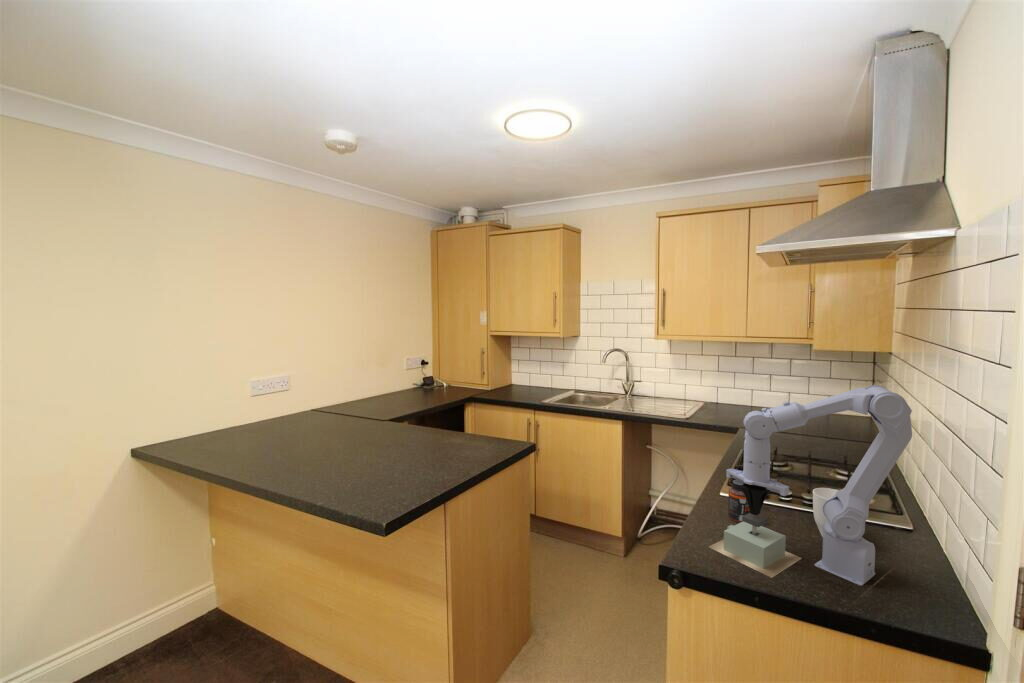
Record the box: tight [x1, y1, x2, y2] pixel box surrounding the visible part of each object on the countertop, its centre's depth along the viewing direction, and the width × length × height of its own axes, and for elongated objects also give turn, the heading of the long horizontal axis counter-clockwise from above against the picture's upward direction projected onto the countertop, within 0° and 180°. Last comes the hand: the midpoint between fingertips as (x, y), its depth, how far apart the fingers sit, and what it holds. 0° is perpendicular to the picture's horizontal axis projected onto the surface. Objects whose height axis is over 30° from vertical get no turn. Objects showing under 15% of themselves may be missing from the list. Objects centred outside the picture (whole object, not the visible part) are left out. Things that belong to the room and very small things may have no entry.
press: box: [723, 522, 787, 568], centre depth 113 cm, size 12×10×5 cm
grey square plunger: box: [742, 513, 768, 536], centre depth 112 cm, size 4×4×6 cm
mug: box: [812, 487, 839, 538], centre depth 120 cm, size 12×9×12 cm
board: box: [708, 538, 803, 579], centre depth 113 cm, size 16×14×1 cm
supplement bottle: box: [727, 479, 750, 524], centre depth 130 cm, size 6×6×11 cm
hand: (755, 513), depth 112 cm, fingers closed
